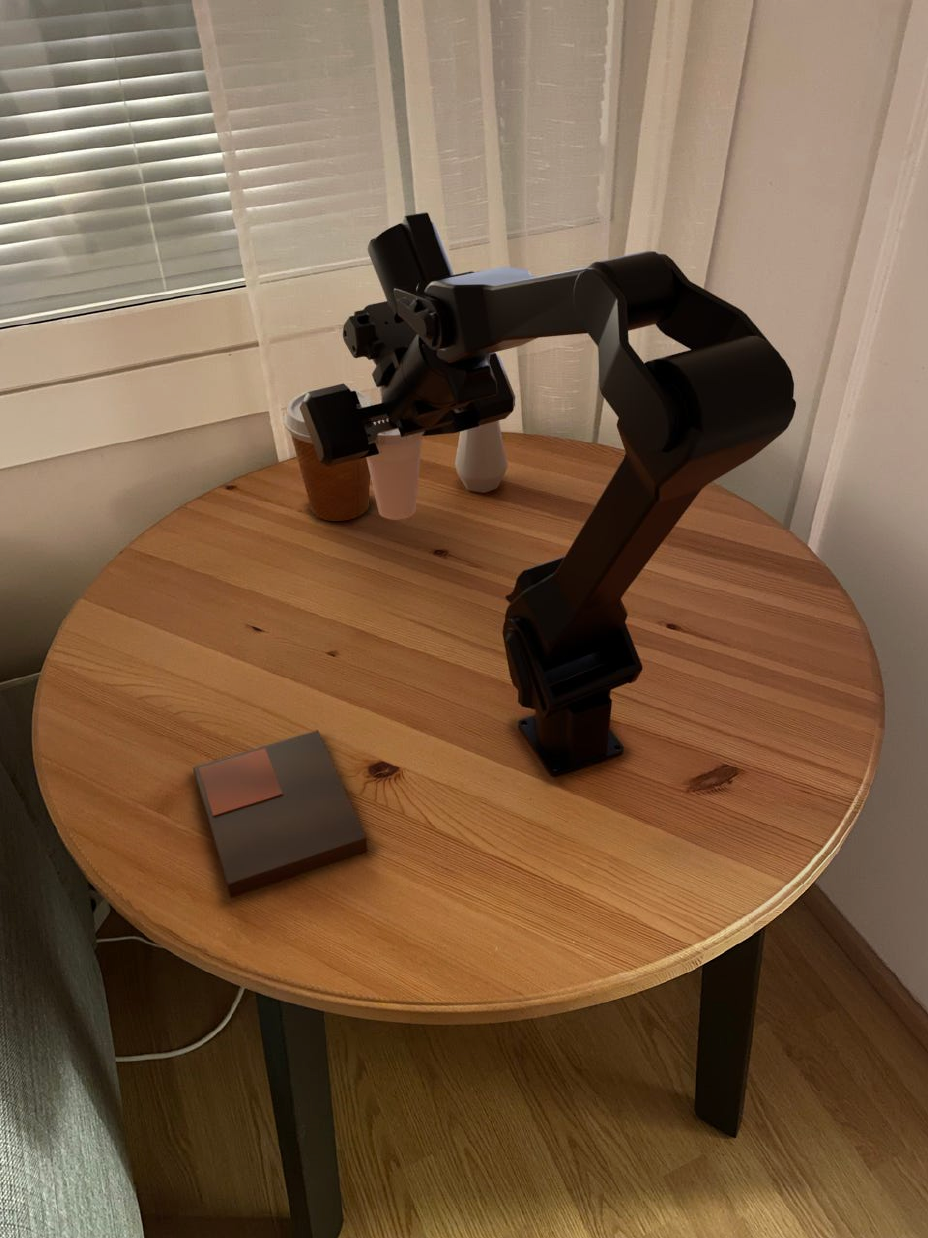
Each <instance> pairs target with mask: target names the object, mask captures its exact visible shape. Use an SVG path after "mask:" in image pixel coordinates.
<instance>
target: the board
mask: <svg viewBox="0 0 928 1238" xmlns="http://www.w3.org/2000/svg"><path fill="white" fill-rule="evenodd" d="M192 770H193V774H194V777H195V782H196V786H197V788H198V791H199V794H200V799H201V802H202V805H203V808H204V812H205V816H206V819H207V822H208V824H209V829H210V832H211V836H212V839H213V842H214V846H215V850H216V852H217V856H218V859H219V863H220V866H221V869H222V874H223V876H224V880H225V883H226V887H227V890H228V894H229V897H230V898H234V897H237V896H240V895H243V894H245V893H249V892H251V891H254V890H258V889H260V888H263V887H266V886H270V885H272V884H276V883H278V882H282V881H284V880H286V879H290V878H293V877H295V876H299V875H302V874H304V873H308V872H310V871H313V870H316V869H319V868H322V867H325V866H327V865H331V864H333V863H337V862H339V861H342V860H345V859H349V858H351V857H354V856H357V855H360V854H363V853H366V852H368V843H367V836H366V834H365V832H364V829H363V828H362V825H361V823H360V820H359V819H358V816H357V813H356V812H355V810H354V807H353V805H352V803H351V801H350V799H349V796H348V793H347V791H346V789H345V787H344V785H343V783H342V780H341V778H340V776H339V773H338V772H337V769H336V767H335V764H334V763H333V760H332V759H331V756H330V753H329V751H328V749H327V748H326V745H325V743H324V740H323V738H322V736H321V734H320V731H319V730H317V729H316V730H313V731H309V732H306V733H302V734H299V735H297V736H296V735H295V736H293V737H289V738H286V739H283V740H279V741H276V742H273V743H269V744H265V745H262V746H259V747H255V748H252V749H249V750H246V751H242V752H238V753H236V754H232V755H229V756H224V757H223V758H218V759H216V760H213V761H209V762H205V763H201V764H198V765H196V766H193V767H192Z"/></svg>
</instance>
